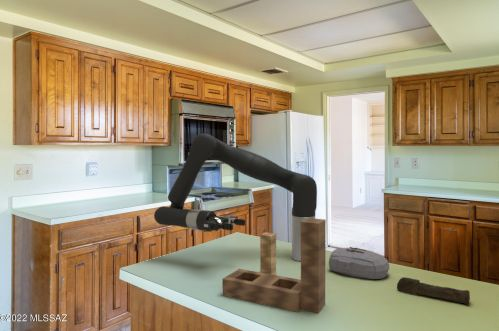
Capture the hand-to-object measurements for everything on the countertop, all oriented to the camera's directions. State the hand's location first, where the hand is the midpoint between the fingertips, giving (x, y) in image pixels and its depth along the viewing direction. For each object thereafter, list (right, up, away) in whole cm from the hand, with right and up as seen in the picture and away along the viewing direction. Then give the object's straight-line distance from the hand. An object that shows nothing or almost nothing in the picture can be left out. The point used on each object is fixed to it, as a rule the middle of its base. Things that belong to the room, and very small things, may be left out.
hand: (239, 224), depth 125 cm
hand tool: (+57, -18, -21) cm, 63 cm away
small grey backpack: (+43, -17, +1) cm, 46 cm away
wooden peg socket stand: (+11, -18, -21) cm, 30 cm away
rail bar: (+10, -17, -4) cm, 20 cm away
